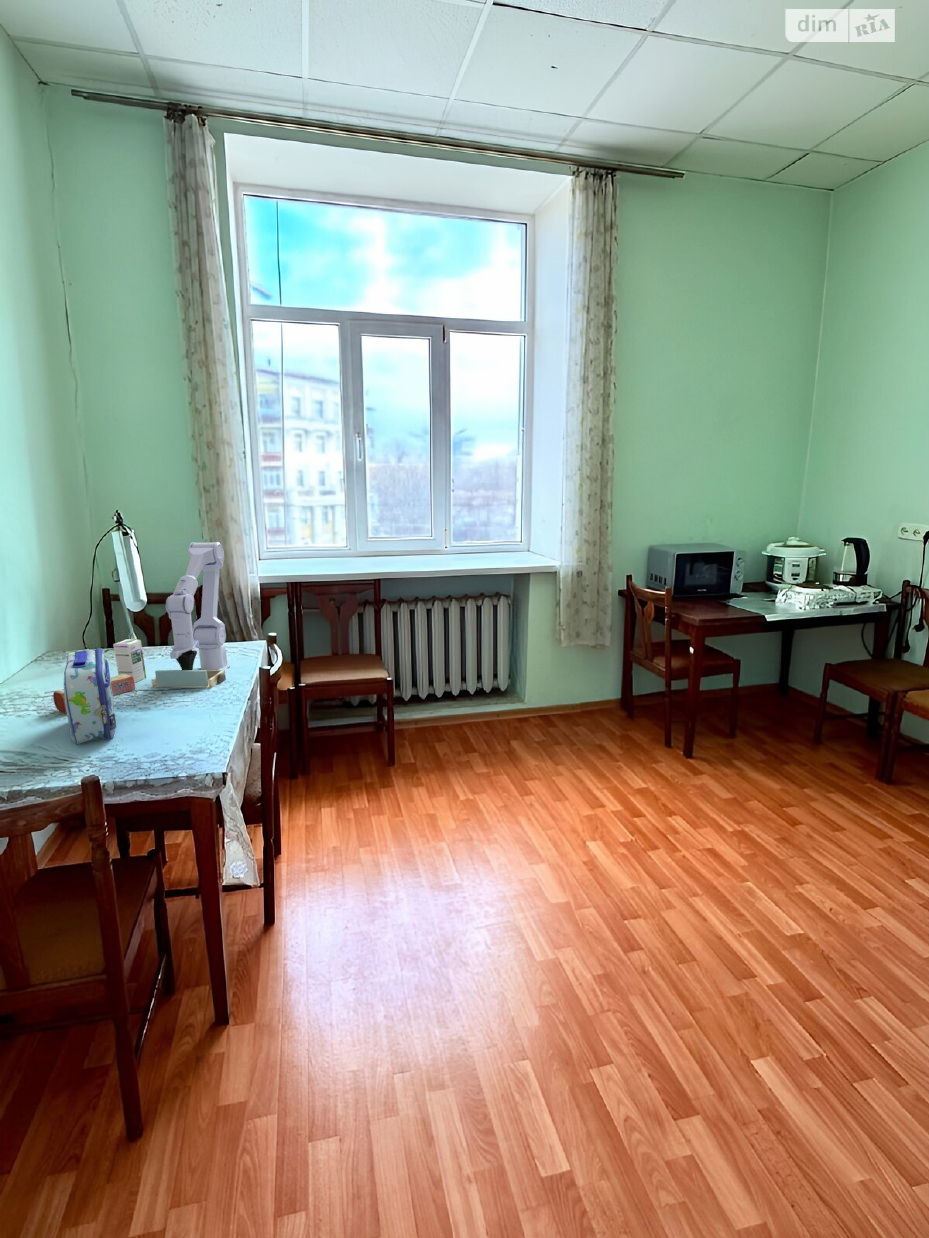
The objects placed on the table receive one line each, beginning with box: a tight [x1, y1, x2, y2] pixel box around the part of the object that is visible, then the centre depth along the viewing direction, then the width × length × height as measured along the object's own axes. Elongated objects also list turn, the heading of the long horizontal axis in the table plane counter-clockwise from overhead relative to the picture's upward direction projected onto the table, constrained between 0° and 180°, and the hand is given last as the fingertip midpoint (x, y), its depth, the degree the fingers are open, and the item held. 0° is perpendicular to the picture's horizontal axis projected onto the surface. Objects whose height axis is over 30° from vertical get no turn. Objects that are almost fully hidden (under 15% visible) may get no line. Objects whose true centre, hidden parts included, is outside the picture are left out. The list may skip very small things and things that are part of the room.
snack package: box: [52, 674, 136, 714], centre depth 193 cm, size 21×7×7 cm, turn 145°
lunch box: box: [63, 647, 117, 744], centre depth 170 cm, size 26×11×21 cm, turn 29°
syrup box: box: [113, 638, 147, 684], centre depth 207 cm, size 6×6×14 cm
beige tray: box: [151, 669, 227, 689], centre depth 205 cm, size 10×21×4 cm, turn 86°
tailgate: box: [154, 669, 208, 687], centre depth 200 cm, size 1×16×5 cm, turn 87°
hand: (188, 674), depth 204 cm, fingers closed
